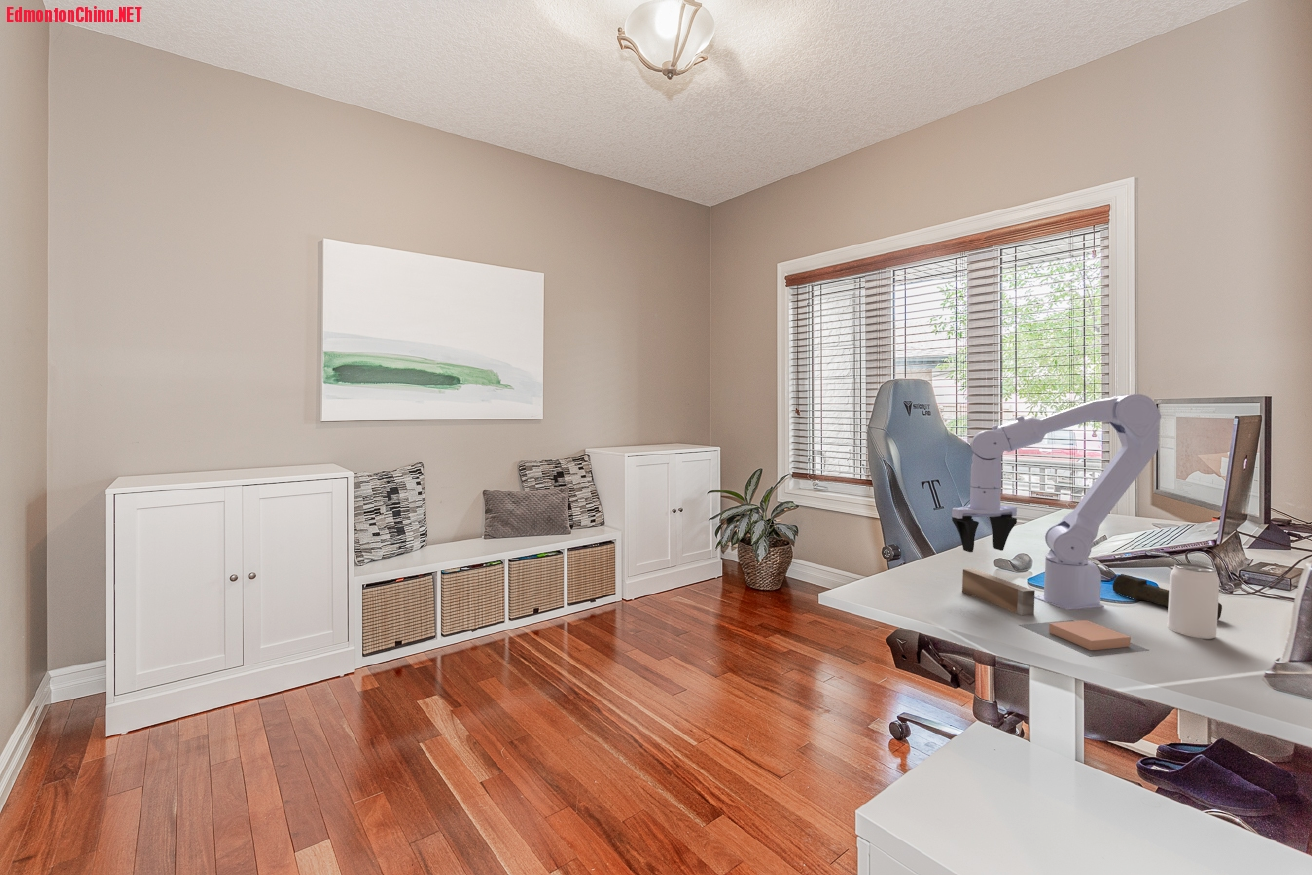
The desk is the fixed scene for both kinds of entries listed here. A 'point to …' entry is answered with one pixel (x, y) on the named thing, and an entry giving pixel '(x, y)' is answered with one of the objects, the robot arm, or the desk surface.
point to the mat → (1044, 631)
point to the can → (1193, 600)
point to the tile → (1089, 635)
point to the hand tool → (1144, 591)
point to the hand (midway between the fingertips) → (983, 550)
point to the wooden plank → (998, 591)
